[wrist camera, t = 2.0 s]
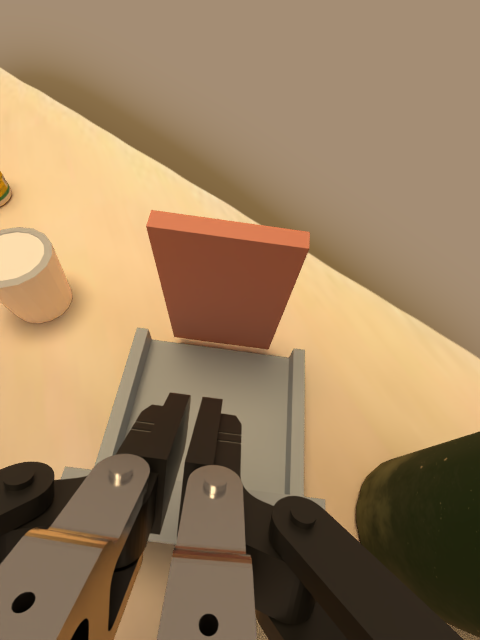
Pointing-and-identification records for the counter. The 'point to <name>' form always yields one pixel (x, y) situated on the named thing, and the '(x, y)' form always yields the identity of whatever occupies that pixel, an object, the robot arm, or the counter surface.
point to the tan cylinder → (32, 276)
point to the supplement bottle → (4, 190)
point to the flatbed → (238, 399)
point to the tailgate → (225, 276)
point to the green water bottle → (429, 526)
